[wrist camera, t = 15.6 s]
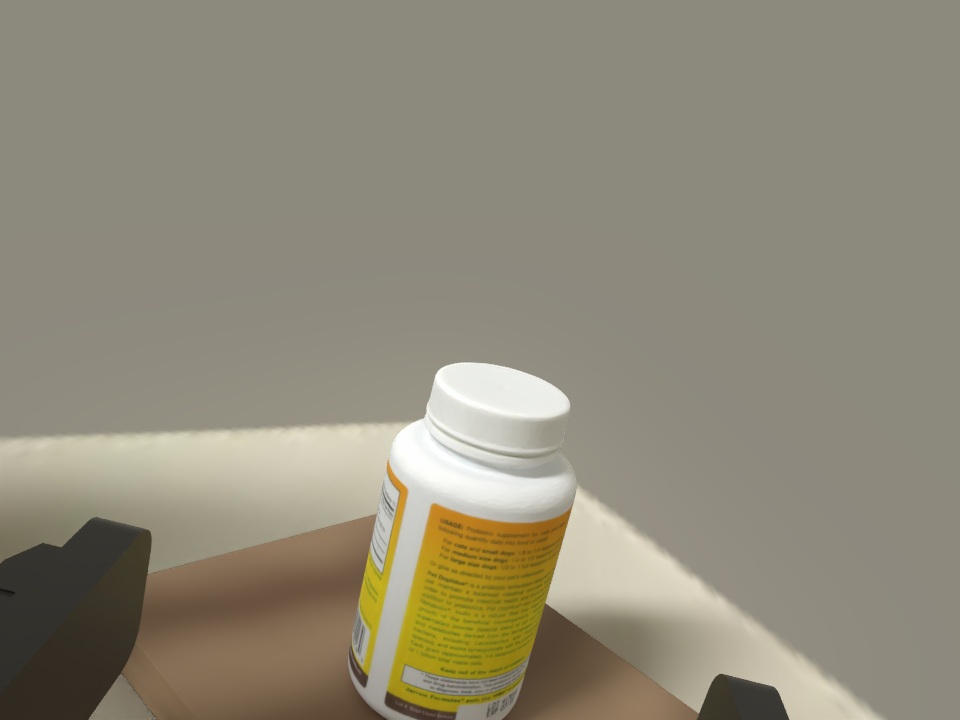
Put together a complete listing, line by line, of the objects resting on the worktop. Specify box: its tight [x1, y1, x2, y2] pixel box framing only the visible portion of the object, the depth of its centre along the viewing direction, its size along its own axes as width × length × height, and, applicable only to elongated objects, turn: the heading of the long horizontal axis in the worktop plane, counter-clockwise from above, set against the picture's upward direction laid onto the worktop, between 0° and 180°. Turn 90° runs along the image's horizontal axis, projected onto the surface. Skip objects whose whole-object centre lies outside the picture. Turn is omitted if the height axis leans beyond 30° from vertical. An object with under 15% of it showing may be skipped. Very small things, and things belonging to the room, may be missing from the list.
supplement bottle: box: [348, 363, 577, 720], centre depth 26 cm, size 6×6×10 cm
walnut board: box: [122, 514, 699, 720], centre depth 28 cm, size 18×14×2 cm
